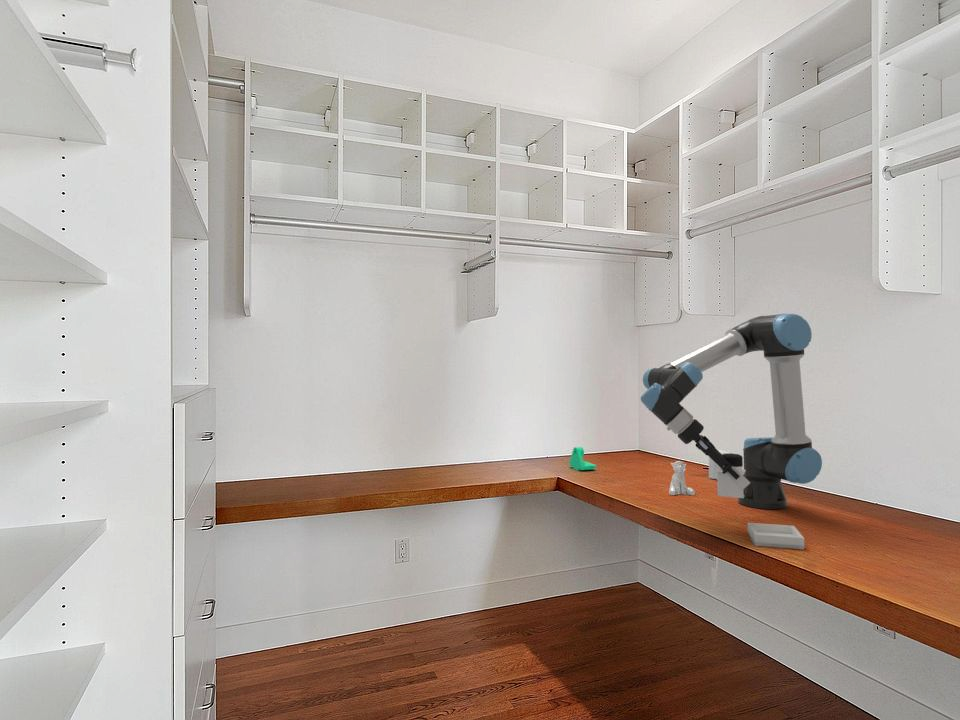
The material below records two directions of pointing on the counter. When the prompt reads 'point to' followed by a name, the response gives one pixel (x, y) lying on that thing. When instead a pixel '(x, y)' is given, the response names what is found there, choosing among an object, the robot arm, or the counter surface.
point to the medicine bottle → (726, 483)
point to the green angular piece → (580, 460)
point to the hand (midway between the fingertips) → (744, 482)
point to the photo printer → (714, 466)
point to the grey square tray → (775, 536)
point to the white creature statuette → (679, 481)
